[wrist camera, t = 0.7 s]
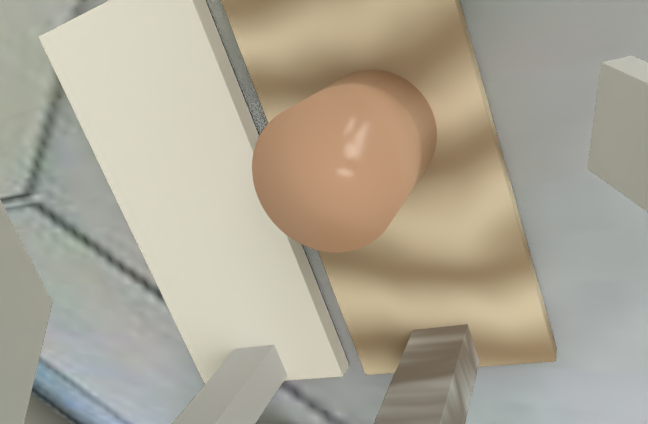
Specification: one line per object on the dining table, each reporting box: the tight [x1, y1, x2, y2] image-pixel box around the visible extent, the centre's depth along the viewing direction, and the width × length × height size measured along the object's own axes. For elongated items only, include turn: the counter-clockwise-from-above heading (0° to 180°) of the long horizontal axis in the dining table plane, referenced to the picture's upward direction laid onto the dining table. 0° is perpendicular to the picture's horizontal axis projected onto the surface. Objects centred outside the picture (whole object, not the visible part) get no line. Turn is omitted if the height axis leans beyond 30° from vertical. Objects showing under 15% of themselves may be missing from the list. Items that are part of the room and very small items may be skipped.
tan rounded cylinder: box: [252, 70, 437, 253], centre depth 33 cm, size 8×8×9 cm
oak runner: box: [221, 0, 557, 424], centre depth 33 cm, size 32×14×14 cm, turn 22°
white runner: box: [39, 0, 349, 424], centre depth 40 cm, size 32×14×14 cm, turn 22°
